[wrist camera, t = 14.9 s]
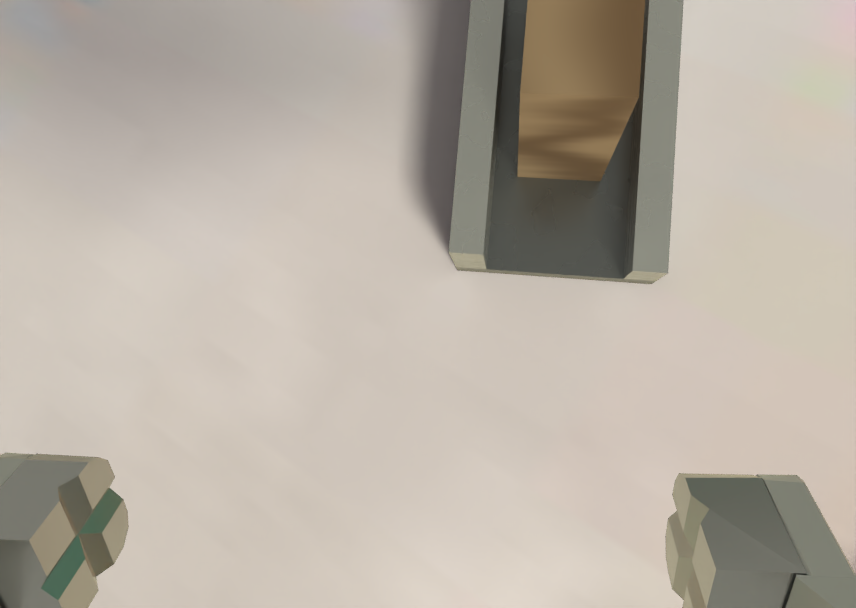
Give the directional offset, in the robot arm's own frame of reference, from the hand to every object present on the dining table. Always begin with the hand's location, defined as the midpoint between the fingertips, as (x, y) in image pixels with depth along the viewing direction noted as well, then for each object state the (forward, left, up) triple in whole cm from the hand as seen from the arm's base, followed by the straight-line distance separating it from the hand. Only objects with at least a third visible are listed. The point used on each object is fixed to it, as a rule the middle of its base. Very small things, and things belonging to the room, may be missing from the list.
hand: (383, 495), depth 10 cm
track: (+3, +17, -24) cm, 30 cm away
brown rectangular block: (+3, +17, -23) cm, 29 cm away
